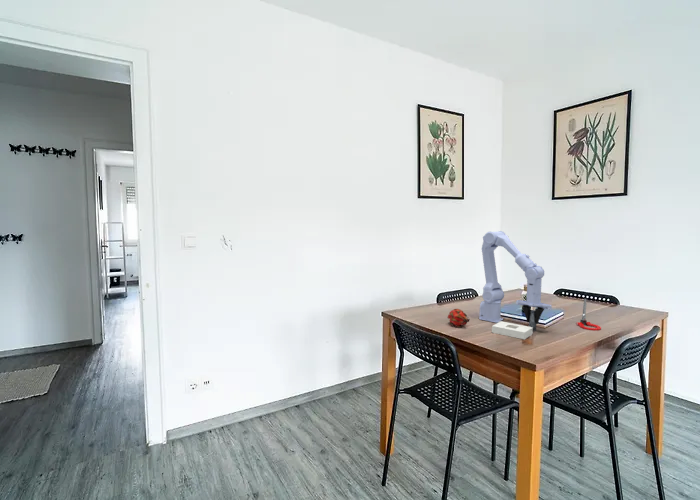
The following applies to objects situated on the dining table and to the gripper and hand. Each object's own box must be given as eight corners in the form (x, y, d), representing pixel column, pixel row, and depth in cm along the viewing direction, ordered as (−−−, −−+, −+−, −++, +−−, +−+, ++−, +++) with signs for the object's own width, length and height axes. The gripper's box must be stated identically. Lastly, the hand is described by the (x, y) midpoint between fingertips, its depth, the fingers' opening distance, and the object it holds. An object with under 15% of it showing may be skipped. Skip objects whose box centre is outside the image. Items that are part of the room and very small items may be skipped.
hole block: (491, 332, 167) (491, 325, 167) (500, 327, 174) (500, 321, 174) (524, 339, 157) (524, 332, 157) (532, 334, 165) (532, 327, 164)
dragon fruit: (451, 324, 185) (466, 335, 174) (440, 316, 181) (454, 326, 170) (461, 310, 185) (476, 320, 174) (450, 302, 181) (465, 311, 170)
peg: (527, 330, 170) (528, 310, 169) (529, 328, 172) (530, 309, 172) (534, 331, 168) (535, 311, 167) (536, 330, 170) (537, 310, 170)
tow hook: (605, 331, 170) (589, 324, 179) (608, 303, 168) (592, 298, 177) (588, 332, 169) (573, 325, 178) (591, 304, 167) (576, 298, 176)
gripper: (514, 292, 171) (512, 321, 172) (548, 296, 161) (547, 327, 162) (519, 289, 176) (518, 318, 177) (553, 294, 166) (552, 324, 167)
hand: (532, 322), depth 170 cm, fingers closed on peg, 3 cm apart
